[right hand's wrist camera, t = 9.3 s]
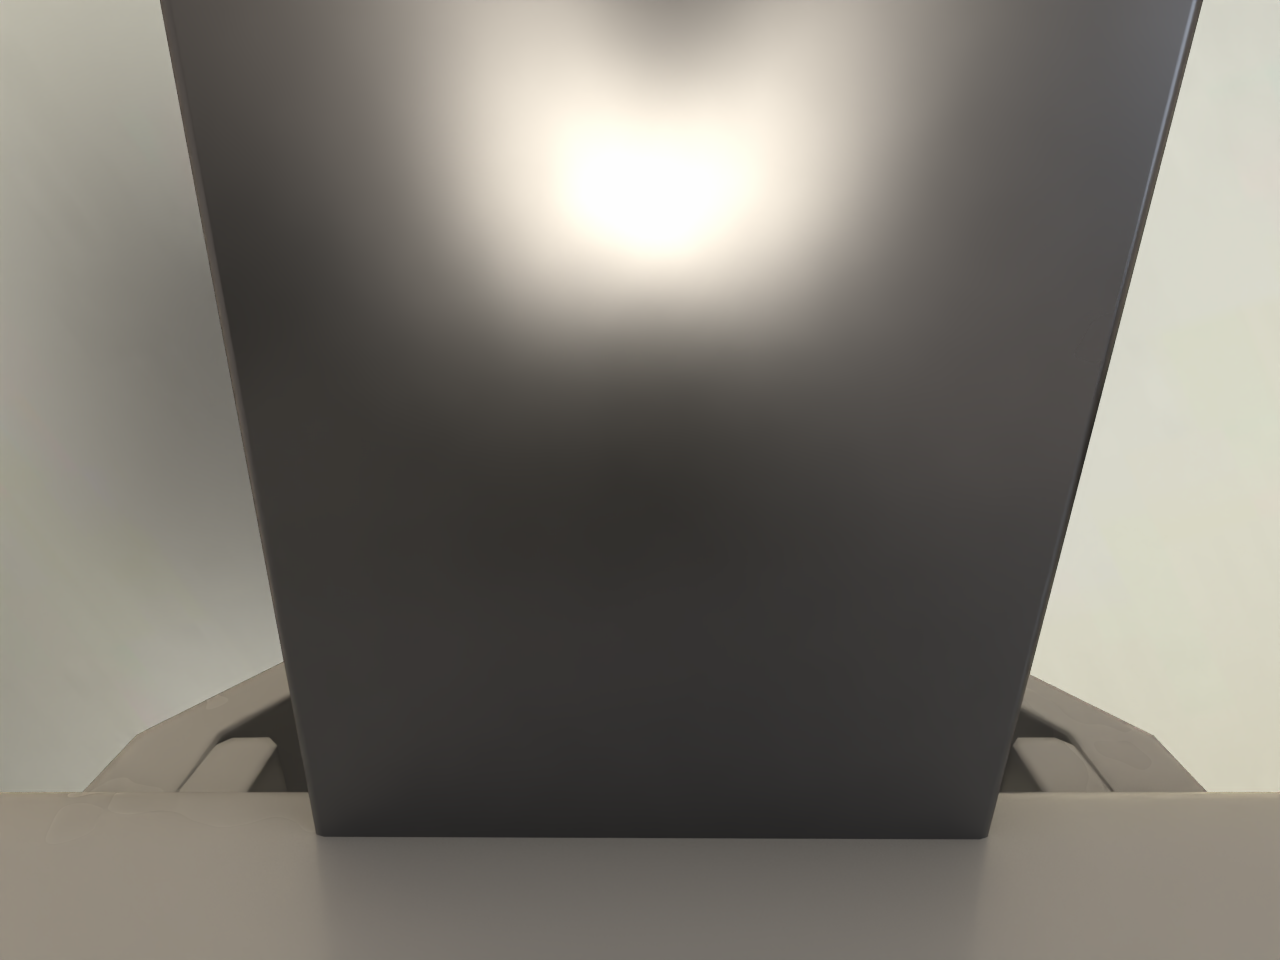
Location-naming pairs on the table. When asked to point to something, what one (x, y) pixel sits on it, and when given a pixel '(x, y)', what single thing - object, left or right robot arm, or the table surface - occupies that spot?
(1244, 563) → the table surface
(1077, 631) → the table surface
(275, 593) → the bar
